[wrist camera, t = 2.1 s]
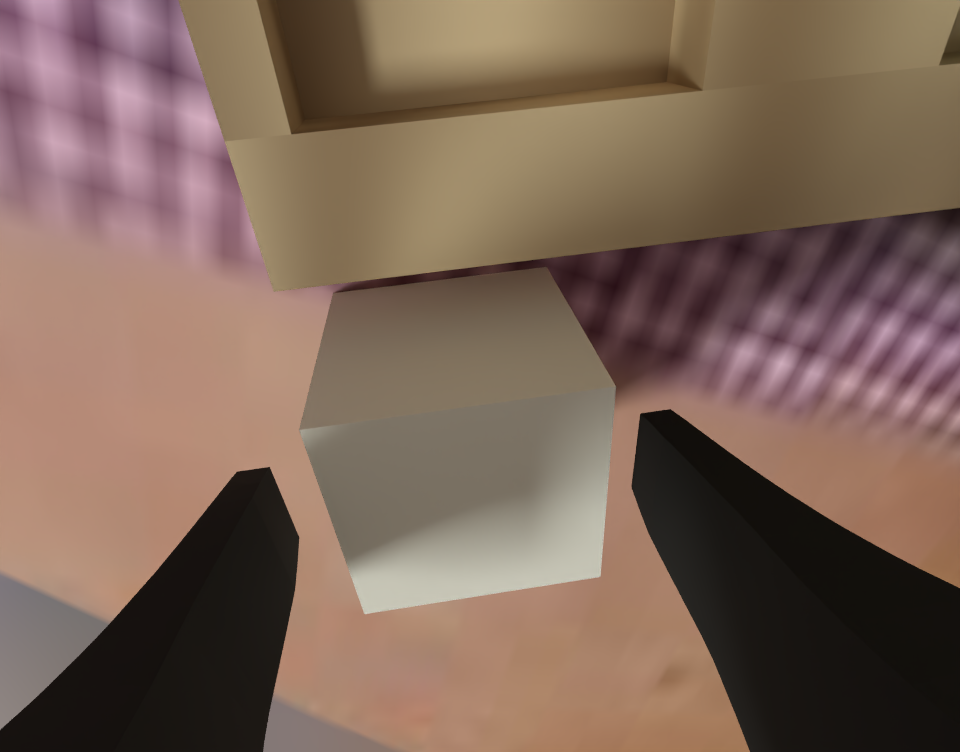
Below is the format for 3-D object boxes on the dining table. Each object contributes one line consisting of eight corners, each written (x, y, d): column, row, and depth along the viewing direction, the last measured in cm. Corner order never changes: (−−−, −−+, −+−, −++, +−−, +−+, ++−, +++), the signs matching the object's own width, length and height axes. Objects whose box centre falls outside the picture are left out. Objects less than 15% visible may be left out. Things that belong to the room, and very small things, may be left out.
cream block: (545, 265, 13) (616, 386, 8) (547, 427, 15) (600, 576, 11) (333, 291, 12) (299, 429, 8) (374, 451, 15) (364, 614, 11)
